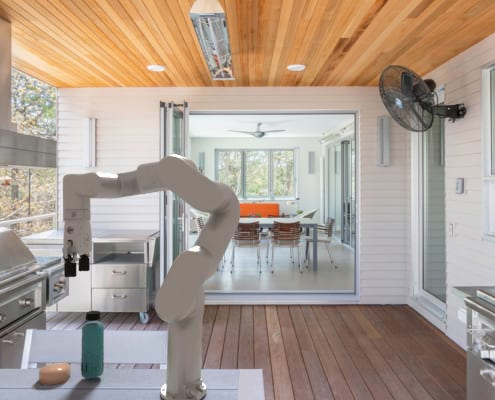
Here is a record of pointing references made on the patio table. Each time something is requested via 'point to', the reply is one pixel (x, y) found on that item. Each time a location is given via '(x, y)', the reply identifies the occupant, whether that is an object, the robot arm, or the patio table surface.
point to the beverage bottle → (92, 346)
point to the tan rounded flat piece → (54, 373)
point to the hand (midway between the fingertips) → (77, 273)
